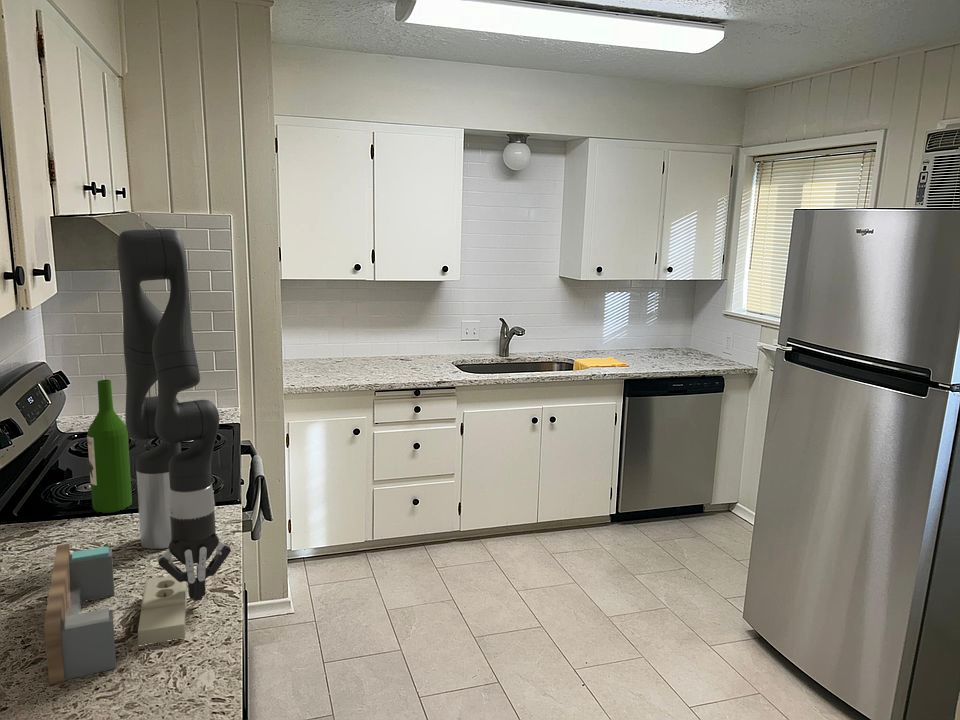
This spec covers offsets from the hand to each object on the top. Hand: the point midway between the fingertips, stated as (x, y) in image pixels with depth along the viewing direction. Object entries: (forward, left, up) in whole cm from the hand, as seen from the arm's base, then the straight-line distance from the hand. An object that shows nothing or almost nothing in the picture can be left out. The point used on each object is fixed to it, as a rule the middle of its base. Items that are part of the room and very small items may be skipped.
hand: (197, 598), depth 131 cm
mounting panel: (0, -22, -2) cm, 22 cm away
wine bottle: (-62, -14, -2) cm, 64 cm away
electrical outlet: (+1, -6, -2) cm, 6 cm away
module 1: (-13, -17, -2) cm, 22 cm away
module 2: (+13, -17, -2) cm, 21 cm away
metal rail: (0, -20, -2) cm, 20 cm away
